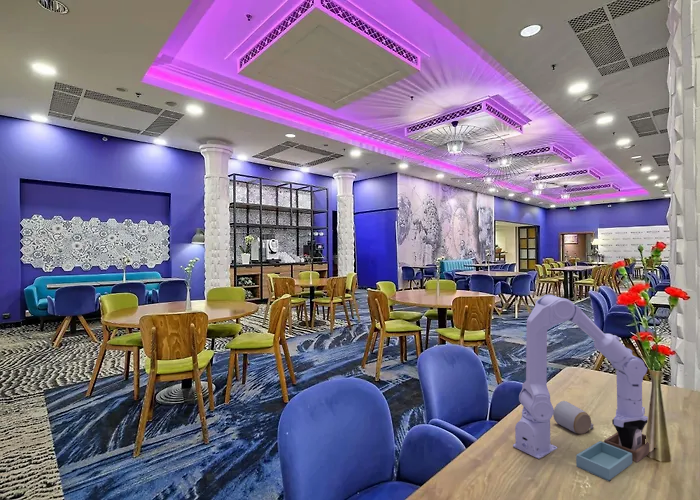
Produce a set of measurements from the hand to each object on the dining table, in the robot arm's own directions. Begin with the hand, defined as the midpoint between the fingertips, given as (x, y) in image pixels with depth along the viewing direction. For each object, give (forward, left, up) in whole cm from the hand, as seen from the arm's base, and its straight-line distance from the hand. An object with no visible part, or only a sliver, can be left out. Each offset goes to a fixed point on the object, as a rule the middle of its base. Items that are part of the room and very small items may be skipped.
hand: (630, 445), depth 104 cm
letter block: (0, 0, -1) cm, 1 cm away
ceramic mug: (+1, +15, -2) cm, 15 cm away
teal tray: (-14, 0, -1) cm, 14 cm away
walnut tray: (0, 0, -1) cm, 1 cm away
